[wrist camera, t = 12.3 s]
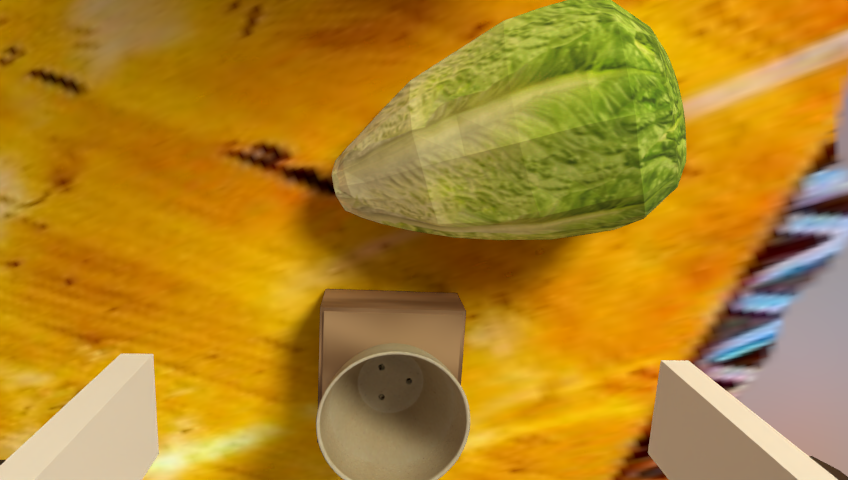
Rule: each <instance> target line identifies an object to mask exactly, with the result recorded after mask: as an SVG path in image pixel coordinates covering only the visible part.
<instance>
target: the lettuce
mask: <svg viewBox="0 0 848 480" xmlns="http://www.w3.org/2000/svg"><path fill="white" fill-rule="evenodd" d="M685 163H686V130H685V118H684V110H683V105H682V100H681V95H680V90H679V86H678V82H677V79H676V76H675V73H674V70H673V68H672V65H671V62H670V60H669V58H668V55H667V53H666V51H665V50H664V48H663V46H662V45H661V43H660V42H659V40H658V39H657V37H656V35H655V34H654V32H653V31H652V29H651V28H650V27H649V26H648V25H646V24H645V23H643V22H642V21H640V20H639V19H638V18H636V17H635V16H633V15H632V14H630V13H629V12H627V11H626V10H625V9H623V8H622V7H620V6H619V5H617V4H616V3H614V2H613V1H611V0H567V1H563V2H560V3H556V4H552V5H549V6H545V7H542V8H539V9H536V10H533V11H530V12H527V13H524V14H522V15H519V16H516V17H513V18H510V19H507V20H505V21H503V22H501V23H499V24H498V25H496V26H495V27H493V28H492V29H490V30H488V31H487V32H485V33H484V34H482V35H481V36H479V37H478V38H476V39H474V40H473V41H471V42H470V43H468V44H467V45H465V46H463V47H462V48H460V49H459V50H457V51H456V52H454V53H453V54H451V55H449V56H448V57H446V58H445V59H443V60H442V61H440V62H439V63H437V64H435V65H434V66H432V67H431V68H429V69H428V70H426V71H425V72H423V73H421V74H420V75H418V76H417V77H415V78H414V79H412V80H411V81H409V83H408V84H407V85H406V86H405V87H404V88H403V89H402V90H401V91H400V92H399V93H398V94H397V95H396V96H395V97H394V98H393V99H392V100H391V101H390V102H389V103H388V104H387V105H386V106H385V107H384V108H383V109H382V110H381V112H380V113H379V114H378V115H377V116H376V117H375V118H374V119H373V120H372V121H371V122H370V123H369V125H368V126H367V127H366V128H365V129H364V130H363V131H362V132H361V133H360V135H359V136H358V137H357V138H356V139H355V140H354V141H353V142H352V143H351V144H350V145H349V146H348V147H347V148H346V149H345V150H344V151H343V153H342V154H341V155H340V156H339V157H338V158H337V160H336V161H335V164H334V167H333V172H332V180H333V186H334V190H335V194H336V197H337V199H338V200H339V202H340V203H341V205H342V206H343V208H344V209H345V211H348V212H350V213H352V214H355V215H357V216H359V217H362V218H365V219H368V220H371V221H374V222H378V223H381V224H384V225H389V226H393V227H398V228H402V229H406V230H411V231H417V232H423V233H429V234H435V235H441V236H447V237H453V238H469V239H487V240H544V239H557V238H564V237H571V236H578V235H585V234H591V233H597V232H603V231H609V230H614V229H617V228H620V227H622V226H625V225H628V224H630V223H633V222H636V221H638V220H641V219H644V218H645V217H646V216H647V215H648V214H649V213H650V212H651V211H652V210H653V209H654V208H656V207H657V206H658V205H659V204H660V203H661V202H662V201H663V200H664V199H665V198H666V197H667V196H668V195H669V194H670V193H671V192H672V191H674V190H675V189H676V188H677V187H678V184H679V181H680V178H681V175H682V172H683V169H684V166H685Z"/></svg>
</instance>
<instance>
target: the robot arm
mask: <svg viewBox="0 0 848 480" xmlns="http://www.w3.org/2000/svg"><path fill="white" fill-rule="evenodd" d="M158 454H159V450H158V432H157V414H156V395H155V377H154V359H153V354H120V355H119V356H118V357H117V358H116V359H115V360H114V361H113V362H112V363H110V364H109V365H108V366H107V367H106V368H105V369H104V370H103V371H102V372H101V373H100V374H99V375H97V376H96V377H95V378H94V379H93V380H92V381H91V382H90V383H89V384H88V385H87V386H86V387H85V388H83V389H82V390H81V391H80V392H79V393H78V394H77V395H76V396H75V397H74V398H73V399H72V400H70V401H69V402H68V403H67V404H66V405H65V406H64V407H63V408H62V409H61V410H60V411H59V412H58V413H56V414H55V415H54V416H53V417H52V418H51V419H50V420H49V421H48V422H47V423H46V424H45V425H43V426H42V427H41V428H40V429H39V430H38V431H37V432H36V433H35V434H34V435H33V436H32V437H31V438H29V439H28V440H27V441H26V442H25V443H24V444H23V445H22V446H21V447H20V448H19V449H18V450H16V451H15V452H14V453H13V454H12V455H11V456H10V457H9V458H8V459H7V460H0V480H142V479H143V477H144V476H145V474H146V473H147V471H148V469H149V468H150V466H151V465H152V463H153V462H154V460H155V459H156V457H157V456H158ZM648 454H649V455H650V456H651V458H652V459H653V460H654V461H655V463H656V464H657V465H658V466H659V468H660V469H661V470H662V472H663V473H664V474H665V475H666V477H667V478H668V479H669V480H848V477H847V476H846V475H844V474H843V473H842V472H841V471H839V470H837V469H835V468H834V467H831V466H830V465H828V464H826V463H824V462H822V461H820V460H818V459H816V458H814V457H812V456H808V455H806V454H805V453H804V452H803V451H801V450H800V449H799V448H798V447H796V446H795V445H794V444H793V443H791V442H790V441H789V440H787V439H786V438H785V437H784V436H782V435H781V434H780V433H779V432H777V431H776V430H775V429H774V428H772V427H771V426H770V425H769V424H767V423H766V422H765V421H764V420H762V419H761V418H760V417H758V416H757V415H756V414H755V413H754V412H752V411H751V410H750V409H748V408H747V407H746V406H745V405H743V404H742V403H741V402H740V401H738V400H737V399H736V398H735V397H733V396H732V395H731V394H730V393H728V392H727V391H726V390H725V389H723V388H722V387H721V386H720V385H718V384H717V383H716V382H715V381H713V380H712V379H711V378H709V377H708V376H707V375H706V374H704V373H703V372H702V371H701V370H699V369H698V368H697V367H696V366H694V365H693V364H692V363H691V362H689V361H668V360H661V364H660V371H659V378H658V385H657V392H656V399H655V406H654V413H653V420H652V427H651V434H650V441H649V448H648Z"/></svg>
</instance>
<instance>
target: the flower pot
mask: <svg viewBox="0 0 848 480" xmlns="http://www.w3.org/2000/svg"><path fill="white" fill-rule="evenodd" d="M379 366H380V367H381V368H382V369H381V370H380V369H379ZM408 378H410V380H407V379H408ZM383 396H384V399H382V397H383ZM469 430H470V410H469V405H468V401H467V398H466V395H465V393H464V391H463V389H462V387H461V385H460V384H459V382H458V381H457V379H456V378H455V377H454V375H453V374H452V373H451V372H450V370H449V369H448V368H447V367H446V366H445V365H444V364H442V363H441V362H440V361H439V360H438V359H436V358H435V357H434V356H432V355H431V354H429V353H428V352H426V351H424V350H422V349H420V348H417V347H414V346H411V345H406V344H399V343H388V344H381V345H377V346H374V347H371V348H368V349H366V350H364V351H362V352H360V353H359V354H357V355H355V356H354V357H353V358H351V359H350V360H349V361H348V362H346V363H345V364H344V365H343V366H342V367H341V369H340V370H339V371H338V372H337V373H336V375H335V376H334V377H333V379H332V380H331V382H330V383H329V385H328V386H327V388H326V390H325V392H324V394H323V397H322V399H321V401H320V404H319V408H318V412H317V417H316V432H317V439H318V443H319V447H320V449H321V452H322V454H323V456H324V458H325V460H326V461H327V463H328V464H329V465H330V467H331V468H332V469H333V470H334V472H335V473H336V474H337V475H339V476H340V477H341V478H342V479H344V480H437V479H439V478H440V477H442V476H443V475H444V474H445V473H446V472H447V471H448V470H449V469H450V468H451V467H452V466H453V465H454V464H455V462H456V461H457V460H458V458H459V457H460V455H461V453H462V451H463V449H464V447H465V444H466V442H467V438H468V434H469Z"/></svg>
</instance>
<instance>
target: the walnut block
mask: <svg viewBox="0 0 848 480" xmlns="http://www.w3.org/2000/svg"><path fill="white" fill-rule="evenodd" d="M465 318H466V310H465V308H464V306H463V304H462V302H461V300H460V298H459V296H458V294H457V293H444V292H410V291H377V290H343V289H326V290H325V293H324V296H323V300H322V303H321V306H320V339H319V384H318V408H319V404H320V401H321V399H322V397H323V394H324V392H325V390H326V388H327V386H328V385H329V383H330V382H331V380H332V379H333V377H334V376H335V375H336V373H337V372H338V371H339V370H340V369H341V367H342V366H343V365H344V364H345V363H346V362H348V361H349V360H350V359H351V358H353V357H354V356H355V355H357V354H359V353H360V352H362V351H364V350H366V349H368V348H371V347H374V346H377V345H381V344H388V343H399V344H406V345H411V346H414V347H417V348H420V349H422V350H424V351H426V352H428V353H429V354H431V355H432V356H434V357H435V358H436V359H438V360H439V361H440V362H441V363H442V364H444V365H445V366H446V367H447V368H448V369H449V370H450V372H451V373H452V374H453V375H454V377H455V378H456V379H457V381H458V382H459V384H460V385H461V374H462V360H463V346H464V332H465ZM379 369H380V370H381V369H382V368H381V367H380V366H379ZM407 380H410V378H408V379H407ZM382 399H384V396H383V397H382ZM317 442H318V439H317Z"/></svg>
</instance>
